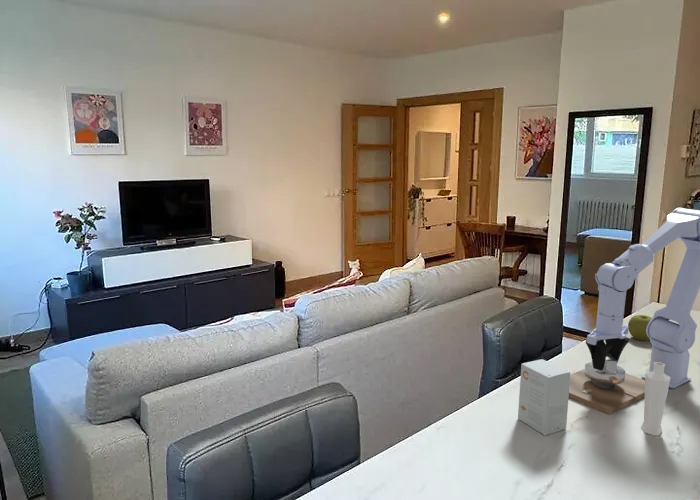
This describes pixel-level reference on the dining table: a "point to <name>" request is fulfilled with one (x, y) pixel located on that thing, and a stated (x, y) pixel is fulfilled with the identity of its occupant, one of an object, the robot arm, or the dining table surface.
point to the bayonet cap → (606, 372)
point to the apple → (639, 327)
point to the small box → (544, 396)
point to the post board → (606, 392)
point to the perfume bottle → (655, 398)
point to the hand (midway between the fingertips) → (604, 366)
